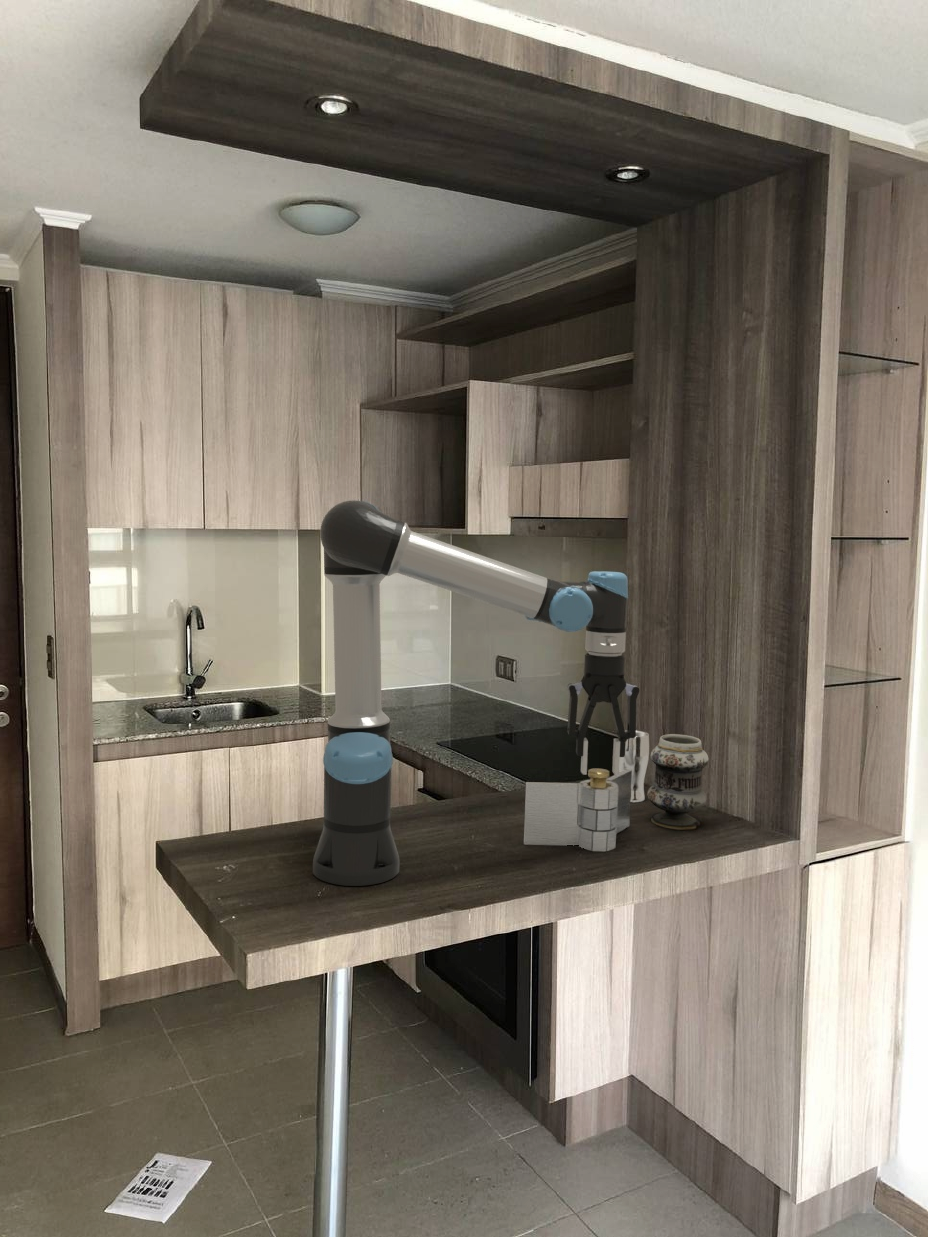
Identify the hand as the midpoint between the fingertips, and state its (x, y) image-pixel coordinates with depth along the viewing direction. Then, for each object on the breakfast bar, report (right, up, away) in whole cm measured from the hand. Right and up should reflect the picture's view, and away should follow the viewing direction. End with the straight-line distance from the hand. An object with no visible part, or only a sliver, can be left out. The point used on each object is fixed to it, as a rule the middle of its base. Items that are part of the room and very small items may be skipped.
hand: (599, 772), depth 188 cm
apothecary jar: (+18, -13, +17) cm, 28 cm away
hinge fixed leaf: (-6, -14, +1) cm, 15 cm away
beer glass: (+12, -11, +34) cm, 37 cm away
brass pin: (-1, -15, +2) cm, 15 cm away
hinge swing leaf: (+2, -14, +6) cm, 15 cm away
